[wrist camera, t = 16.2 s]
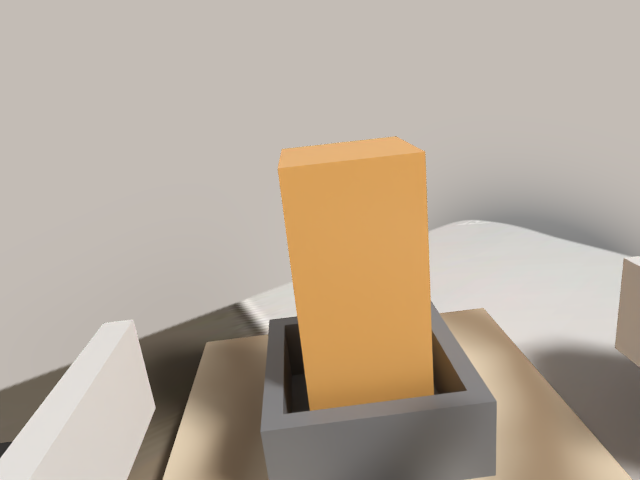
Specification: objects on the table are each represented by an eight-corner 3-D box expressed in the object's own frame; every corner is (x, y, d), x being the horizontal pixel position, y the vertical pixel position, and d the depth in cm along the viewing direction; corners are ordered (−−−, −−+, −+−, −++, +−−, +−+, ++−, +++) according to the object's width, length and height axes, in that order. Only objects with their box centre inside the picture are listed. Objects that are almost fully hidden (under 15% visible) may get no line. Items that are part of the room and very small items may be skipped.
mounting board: (111, 686, 14) (103, 664, 14) (209, 355, 31) (206, 342, 31) (713, 602, 14) (718, 578, 14) (483, 321, 32) (483, 308, 31)
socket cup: (273, 504, 18) (260, 431, 17) (278, 375, 26) (269, 319, 25) (495, 475, 18) (496, 401, 17) (432, 355, 27) (430, 300, 26)
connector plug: (315, 455, 20) (277, 168, 16) (311, 384, 25) (281, 149, 21) (435, 441, 20) (425, 151, 16) (408, 372, 25) (395, 136, 21)
